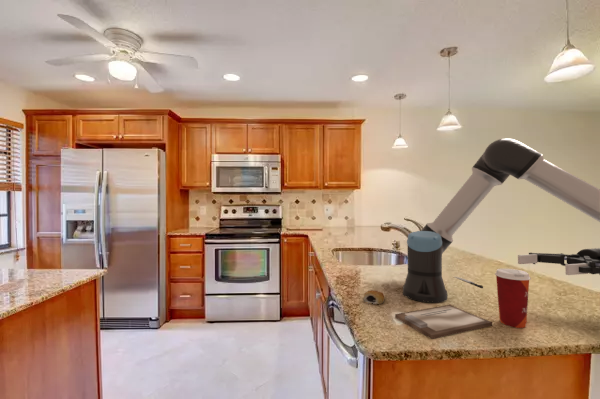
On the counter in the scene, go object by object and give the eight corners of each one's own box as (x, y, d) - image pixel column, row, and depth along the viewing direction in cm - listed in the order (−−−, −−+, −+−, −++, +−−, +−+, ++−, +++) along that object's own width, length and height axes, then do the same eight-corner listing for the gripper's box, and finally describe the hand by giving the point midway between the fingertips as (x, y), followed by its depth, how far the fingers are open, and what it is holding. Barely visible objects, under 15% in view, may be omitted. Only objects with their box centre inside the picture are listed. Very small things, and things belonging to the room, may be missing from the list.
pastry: (370, 295, 105) (370, 285, 105) (388, 298, 101) (388, 288, 101) (361, 303, 97) (361, 292, 97) (380, 307, 93) (380, 295, 93)
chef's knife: (456, 276, 131) (450, 276, 131) (456, 274, 131) (450, 274, 131) (488, 289, 112) (481, 288, 112) (488, 286, 112) (481, 286, 112)
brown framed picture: (395, 317, 84) (395, 311, 84) (449, 307, 91) (449, 301, 92) (431, 339, 71) (431, 331, 71) (491, 325, 78) (491, 318, 78)
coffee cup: (538, 331, 75) (537, 275, 75) (503, 328, 77) (503, 274, 77) (520, 318, 83) (519, 268, 83) (489, 316, 85) (489, 267, 85)
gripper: (657, 284, 73) (592, 290, 69) (554, 264, 97) (503, 267, 94) (656, 256, 73) (592, 260, 69) (554, 242, 97) (502, 245, 94)
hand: (540, 264), depth 81 cm, fingers open, 13 cm apart
